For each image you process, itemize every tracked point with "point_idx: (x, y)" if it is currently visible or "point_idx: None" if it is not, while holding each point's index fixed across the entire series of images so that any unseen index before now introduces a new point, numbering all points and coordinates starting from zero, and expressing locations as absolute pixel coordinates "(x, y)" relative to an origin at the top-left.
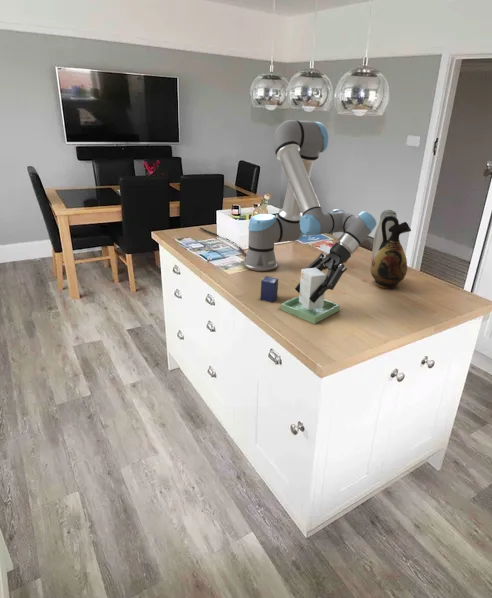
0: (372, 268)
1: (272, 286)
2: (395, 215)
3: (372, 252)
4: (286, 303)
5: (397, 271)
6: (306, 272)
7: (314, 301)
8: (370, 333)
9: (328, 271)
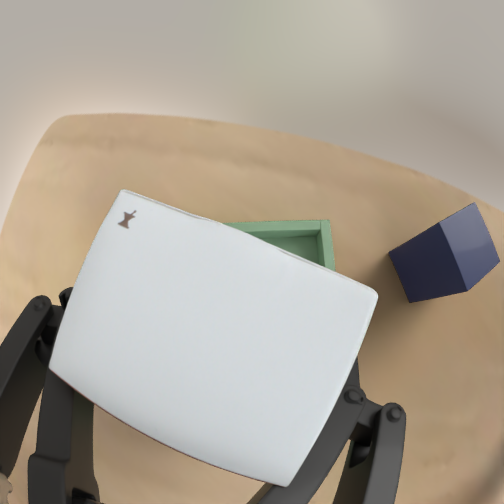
0: None
1: (430, 227)
2: None
3: None
4: (321, 249)
5: None
6: (248, 246)
7: None
8: (11, 323)
9: (64, 441)
